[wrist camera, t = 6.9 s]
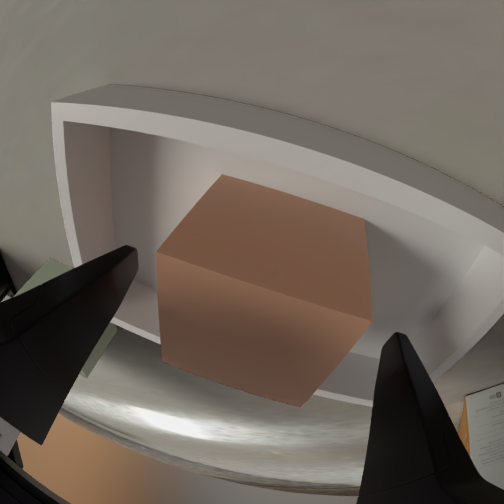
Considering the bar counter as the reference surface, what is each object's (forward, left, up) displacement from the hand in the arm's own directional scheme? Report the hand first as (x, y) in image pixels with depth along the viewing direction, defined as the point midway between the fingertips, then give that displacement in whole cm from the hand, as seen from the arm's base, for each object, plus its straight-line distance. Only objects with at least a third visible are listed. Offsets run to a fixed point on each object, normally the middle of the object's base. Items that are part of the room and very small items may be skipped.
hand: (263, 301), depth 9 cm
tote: (0, 0, -3) cm, 3 cm away
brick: (0, 0, -2) cm, 3 cm away
